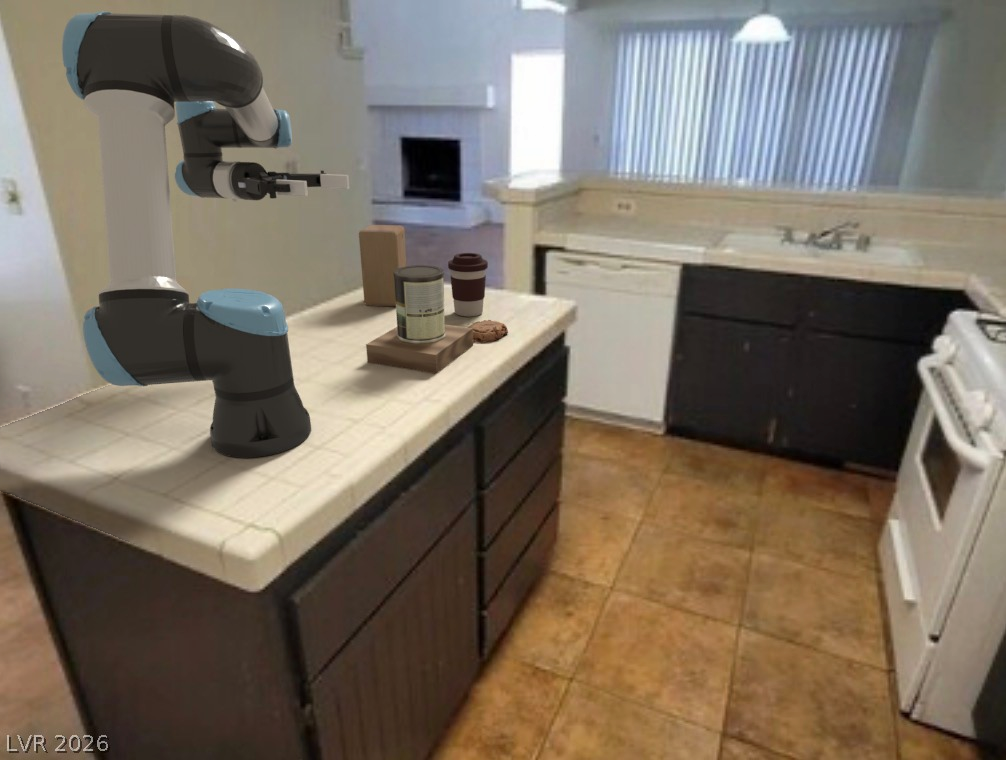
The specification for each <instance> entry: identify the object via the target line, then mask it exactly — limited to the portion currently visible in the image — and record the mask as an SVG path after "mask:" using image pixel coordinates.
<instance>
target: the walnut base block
mask: <svg viewBox="0 0 1006 760" xmlns="http://www.w3.org/2000/svg"><path fill="white" fill-rule="evenodd" d="M467 327H468V326H467ZM467 327H465V326H459V325H451V324H445V337H444V338H443V339H441V340H439V341H436V342H432V343H424V344H415V343H407V342H403V341H401V340H400V339H399V338H398V337H397V335H398V330H397V326H396V327H394V328H392V329H391V330H389V331H387V332H385V333H384V334H382V335H380V336H378V337H376V338H375V339H373V340H370V341H369V342H368V343H366V344H365V348H366V359H367V363H370V364H373V365H374V364H375V365H380V366H381V365H382V366H386V367H387V366H388V367H392V368H393V367H394V368H400V369H406V370H412V371H417V372H418V371H419V372H425V373H431V374H438V373H439V372H441V371H442V370H443V369H444V368H446V367H447V366H448V365H450V364H451V363H452V362H454V361H455V360H456V359H457V358H458V357H460V356H461V355H462V354H464V353H465V352H466V351H468V350H469V349H471V348H472V347H473V346H474V340H473V328H467Z"/></svg>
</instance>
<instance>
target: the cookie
mask: <svg viewBox="0 0 1006 760" xmlns="http://www.w3.org/2000/svg"><path fill="white" fill-rule="evenodd" d="M467 328H473V342H474V341H475V342H476V343H477V342H481V343H485V342H486V343H487V342H488V343H489V342H490V343H491V342H495V341H496V340H499V339H502V337H503V336H504V335H507V334H509V330H508V327H507V325H506V324H505V323H503V322H500V321H496V320H491V319H488V320H481V321H478V320H477V321H475V322H473V323H472V324H470V325H469V326H467Z"/></svg>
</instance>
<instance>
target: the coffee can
mask: <svg viewBox="0 0 1006 760" xmlns="http://www.w3.org/2000/svg"><path fill="white" fill-rule="evenodd" d="M444 274H445V271H444V269H443V268H441V267H439V266H433V265H424V264H421V265H420V264H417V265H406V267H401V268H398V269H396V270H394V271H393V275H394V282H395V297H396V306H395V312H396V325H397V326H396V327H397V330H398V335H397V337H398V338H399V339H400V340H401V341H403V342H407V343H415V344H424V343H432V342H436V341H439V340H441V339H443V338H444V337H445V325H446V324H445V323H446V320H445V319H446V318H445V317H446V315H445V288H444V287H445V285H444V283H445V282H444Z"/></svg>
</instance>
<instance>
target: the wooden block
mask: <svg viewBox="0 0 1006 760" xmlns="http://www.w3.org/2000/svg"><path fill="white" fill-rule="evenodd" d="M405 233H406V231H405V227H404V226H403V225H399V224H398V225H397V224H395V225H394V224H389V225H388V224H370V225H367V226H366V227H364V228H363V229H361V230H359V232H358V242H359V252H360V253H359V254H360V264H361V266H360V267H361V275H362V288H363V301H364V304H365V305H366V306H371V307H373V306H375V307H376V306H377V307H396V297H395V282H394V275H393V271H394V270H396V269H398V268H401V267H406V266H407V254H406V252H407V250H406V248H407V247H406V234H405Z"/></svg>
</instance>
